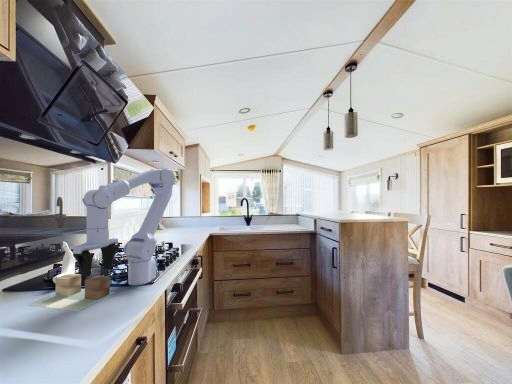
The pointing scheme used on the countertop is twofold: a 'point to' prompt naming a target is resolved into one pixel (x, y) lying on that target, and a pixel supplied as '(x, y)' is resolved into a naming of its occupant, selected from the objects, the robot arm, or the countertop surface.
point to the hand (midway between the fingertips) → (97, 272)
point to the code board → (67, 301)
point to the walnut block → (97, 287)
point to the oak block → (68, 285)
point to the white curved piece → (67, 262)
